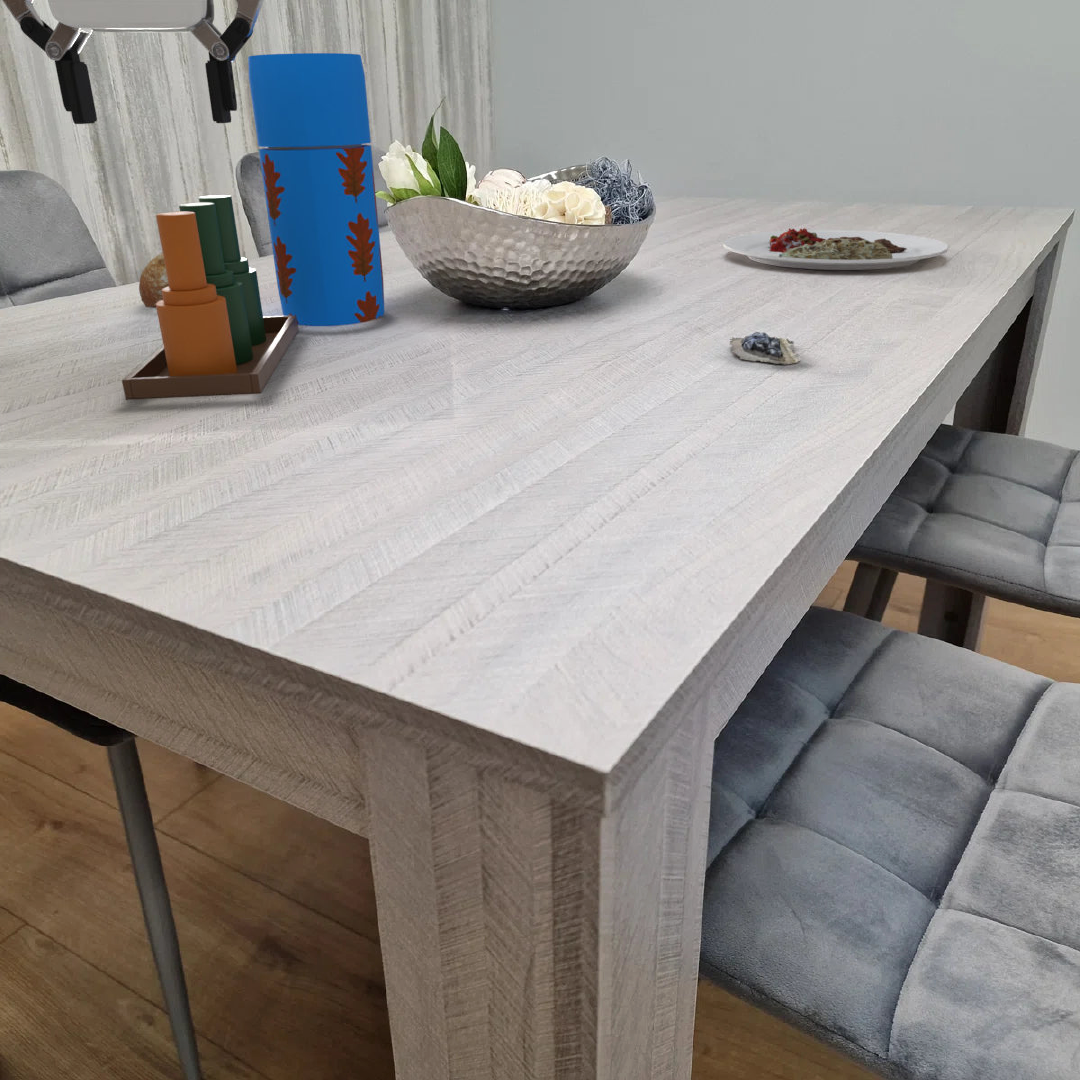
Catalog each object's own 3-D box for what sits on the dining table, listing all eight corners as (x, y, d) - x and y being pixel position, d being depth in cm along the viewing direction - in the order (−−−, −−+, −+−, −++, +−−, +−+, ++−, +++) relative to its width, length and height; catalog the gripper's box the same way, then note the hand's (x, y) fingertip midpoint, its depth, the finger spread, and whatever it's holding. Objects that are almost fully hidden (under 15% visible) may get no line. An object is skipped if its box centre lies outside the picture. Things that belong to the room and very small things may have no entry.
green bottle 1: (185, 369, 80) (155, 208, 74) (199, 354, 85) (172, 202, 79) (247, 366, 80) (222, 206, 75) (258, 351, 85) (235, 200, 79)
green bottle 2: (203, 349, 86) (177, 200, 81) (215, 337, 91) (191, 194, 85) (261, 347, 87) (239, 198, 81) (270, 334, 91) (250, 193, 86)
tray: (127, 406, 72) (121, 380, 71) (194, 340, 92) (190, 319, 91) (261, 400, 73) (257, 374, 72) (299, 336, 93) (296, 315, 92)
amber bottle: (163, 392, 74) (129, 218, 68) (180, 374, 78) (149, 210, 73) (231, 389, 74) (203, 216, 68) (243, 371, 79) (217, 208, 73)
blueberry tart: (778, 340, 87) (780, 320, 87) (826, 360, 80) (829, 338, 80) (712, 347, 86) (714, 326, 85) (756, 368, 79) (758, 346, 78)
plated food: (924, 281, 113) (928, 252, 111) (690, 266, 127) (692, 240, 125) (961, 248, 136) (965, 224, 135) (760, 238, 150) (762, 216, 149)
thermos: (263, 321, 100) (225, 58, 89) (347, 306, 106) (321, 59, 96) (321, 336, 93) (286, 52, 82) (407, 318, 99) (385, 54, 89)
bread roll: (174, 326, 115) (132, 267, 112) (246, 286, 115) (207, 225, 111) (159, 344, 106) (114, 281, 103) (237, 301, 106) (194, 235, 102)
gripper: (-61, -185, 56) (9, 125, 64) (233, -179, 58) (268, 123, 65) (-8, -155, 63) (49, 122, 71) (254, -150, 65) (283, 121, 72)
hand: (154, 123), depth 68 cm, fingers open, 9 cm apart
